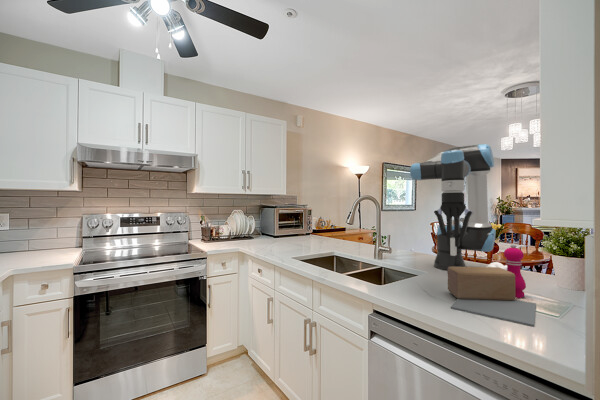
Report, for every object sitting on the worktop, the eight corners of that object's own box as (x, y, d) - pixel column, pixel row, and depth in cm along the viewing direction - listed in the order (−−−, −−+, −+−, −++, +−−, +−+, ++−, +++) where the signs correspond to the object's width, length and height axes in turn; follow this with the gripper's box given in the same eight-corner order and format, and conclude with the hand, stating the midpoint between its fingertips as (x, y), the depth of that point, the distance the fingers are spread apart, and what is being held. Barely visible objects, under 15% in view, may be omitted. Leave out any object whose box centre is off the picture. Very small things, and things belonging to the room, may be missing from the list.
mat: (464, 292, 113) (464, 290, 113) (536, 305, 98) (536, 303, 98) (450, 308, 96) (450, 306, 96) (534, 326, 82) (534, 324, 82)
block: (457, 299, 103) (516, 301, 100) (457, 272, 103) (516, 273, 100) (446, 290, 113) (500, 292, 110) (446, 265, 113) (500, 266, 110)
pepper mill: (501, 291, 113) (500, 241, 113) (523, 294, 110) (523, 243, 110) (503, 296, 107) (503, 244, 107) (528, 300, 103) (527, 245, 103)
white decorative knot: (508, 280, 128) (508, 261, 128) (524, 289, 116) (524, 267, 116) (480, 280, 130) (480, 260, 130) (493, 288, 118) (493, 266, 118)
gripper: (431, 192, 107) (432, 254, 107) (470, 191, 98) (471, 258, 98) (437, 192, 113) (437, 251, 112) (474, 191, 104) (475, 255, 104)
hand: (453, 255), depth 105 cm, fingers closed
